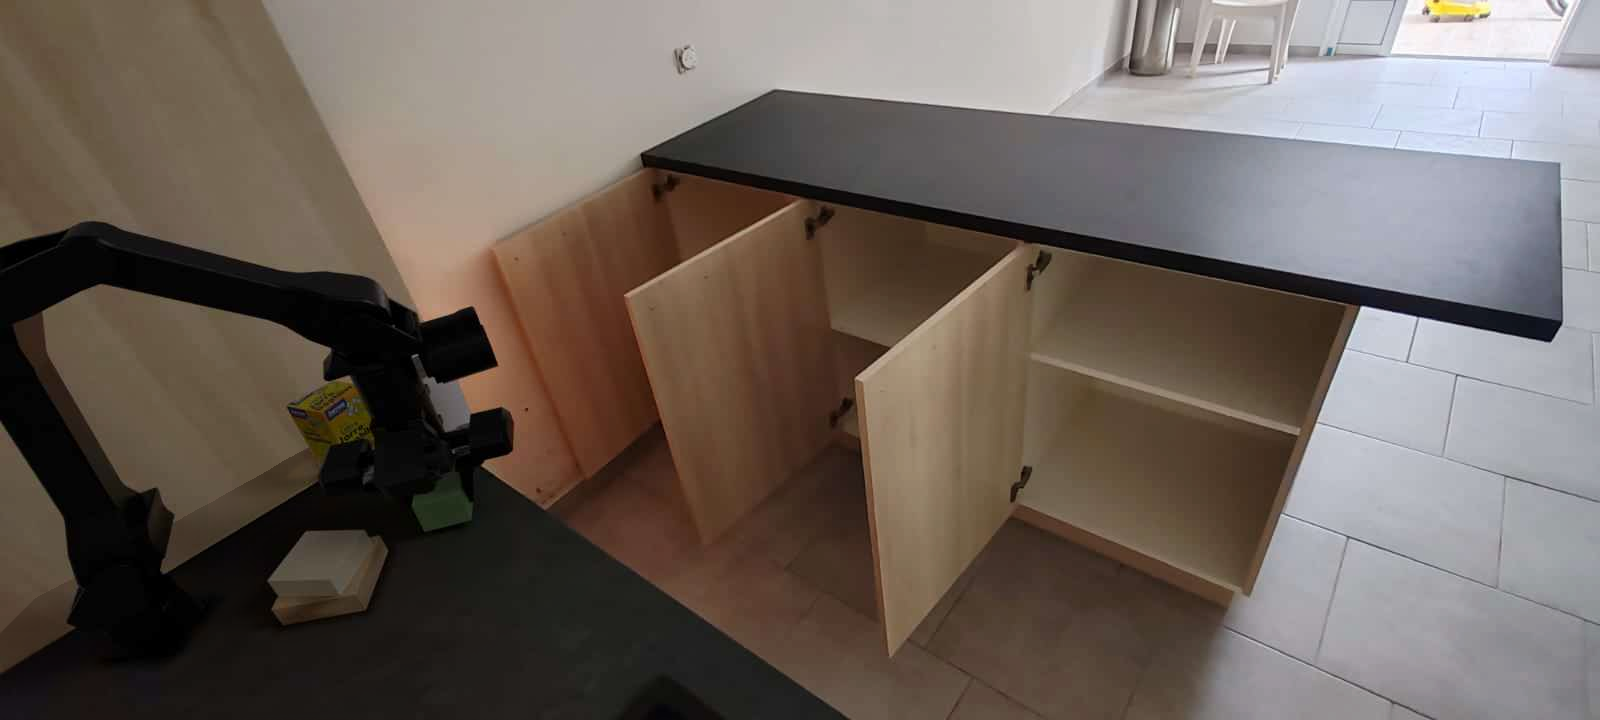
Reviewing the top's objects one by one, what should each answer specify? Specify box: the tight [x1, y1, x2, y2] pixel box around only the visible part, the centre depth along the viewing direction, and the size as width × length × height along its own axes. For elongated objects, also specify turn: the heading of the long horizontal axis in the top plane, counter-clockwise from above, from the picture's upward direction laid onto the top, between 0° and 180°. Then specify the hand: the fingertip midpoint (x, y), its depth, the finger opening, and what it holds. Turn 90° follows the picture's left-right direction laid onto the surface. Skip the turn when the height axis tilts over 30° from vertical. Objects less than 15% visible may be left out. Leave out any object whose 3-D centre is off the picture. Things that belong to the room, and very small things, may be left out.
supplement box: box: [285, 379, 374, 466], centre depth 92 cm, size 6×6×11 cm
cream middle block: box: [267, 529, 374, 597], centre depth 76 cm, size 6×6×2 cm
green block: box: [412, 467, 474, 533], centre depth 84 cm, size 5×5×4 cm
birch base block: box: [271, 535, 389, 626], centre depth 77 cm, size 8×8×2 cm
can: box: [412, 355, 472, 455], centre depth 94 cm, size 6×6×12 cm
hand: (447, 506), depth 84 cm, fingers closed on green block, 5 cm apart
